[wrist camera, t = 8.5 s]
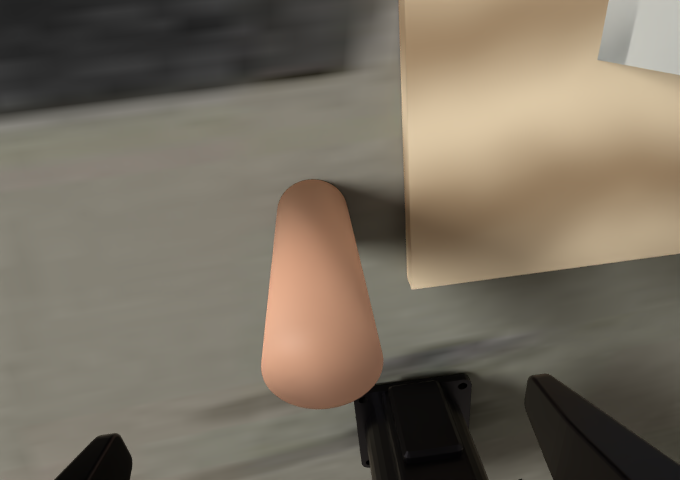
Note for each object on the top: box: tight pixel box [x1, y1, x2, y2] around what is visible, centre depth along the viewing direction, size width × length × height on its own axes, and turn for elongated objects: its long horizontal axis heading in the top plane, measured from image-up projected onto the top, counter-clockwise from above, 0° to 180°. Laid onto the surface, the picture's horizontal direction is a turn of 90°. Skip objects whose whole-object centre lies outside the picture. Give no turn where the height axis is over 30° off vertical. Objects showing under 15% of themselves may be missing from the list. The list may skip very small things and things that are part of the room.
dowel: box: [261, 179, 383, 409], centre depth 15 cm, size 3×3×9 cm
